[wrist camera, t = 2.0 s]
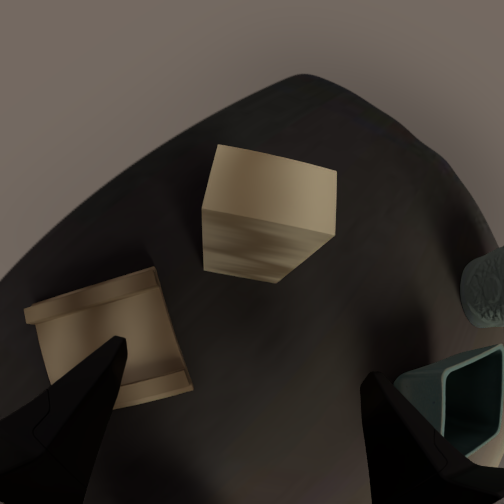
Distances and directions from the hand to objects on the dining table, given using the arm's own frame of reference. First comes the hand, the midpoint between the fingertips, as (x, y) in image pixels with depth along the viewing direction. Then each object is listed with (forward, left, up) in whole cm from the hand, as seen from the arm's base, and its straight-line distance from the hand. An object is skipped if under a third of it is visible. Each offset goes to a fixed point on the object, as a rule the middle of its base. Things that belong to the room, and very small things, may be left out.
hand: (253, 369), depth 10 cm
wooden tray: (+10, +2, -13) cm, 17 cm away
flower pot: (-19, +3, -14) cm, 23 cm away
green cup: (-29, -9, -14) cm, 33 cm away
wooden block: (0, -8, -13) cm, 15 cm away
